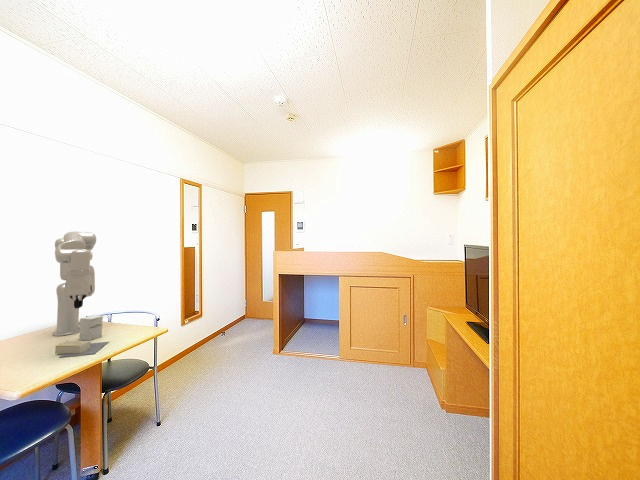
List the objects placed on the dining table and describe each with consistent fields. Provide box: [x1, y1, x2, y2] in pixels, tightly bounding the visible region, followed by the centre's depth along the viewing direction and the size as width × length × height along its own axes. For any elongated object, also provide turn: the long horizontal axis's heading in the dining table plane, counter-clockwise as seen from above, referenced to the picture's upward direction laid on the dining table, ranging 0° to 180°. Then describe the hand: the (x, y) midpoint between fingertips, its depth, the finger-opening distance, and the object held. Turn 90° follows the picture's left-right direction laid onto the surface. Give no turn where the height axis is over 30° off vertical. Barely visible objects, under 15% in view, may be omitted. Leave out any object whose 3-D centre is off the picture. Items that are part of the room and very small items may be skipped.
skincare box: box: [54, 340, 92, 355], centre depth 126 cm, size 6×4×12 cm
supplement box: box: [78, 314, 103, 341], centre depth 146 cm, size 7×7×13 cm
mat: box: [58, 341, 110, 359], centre depth 130 cm, size 16×14×1 cm
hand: (78, 307), depth 129 cm, fingers closed
